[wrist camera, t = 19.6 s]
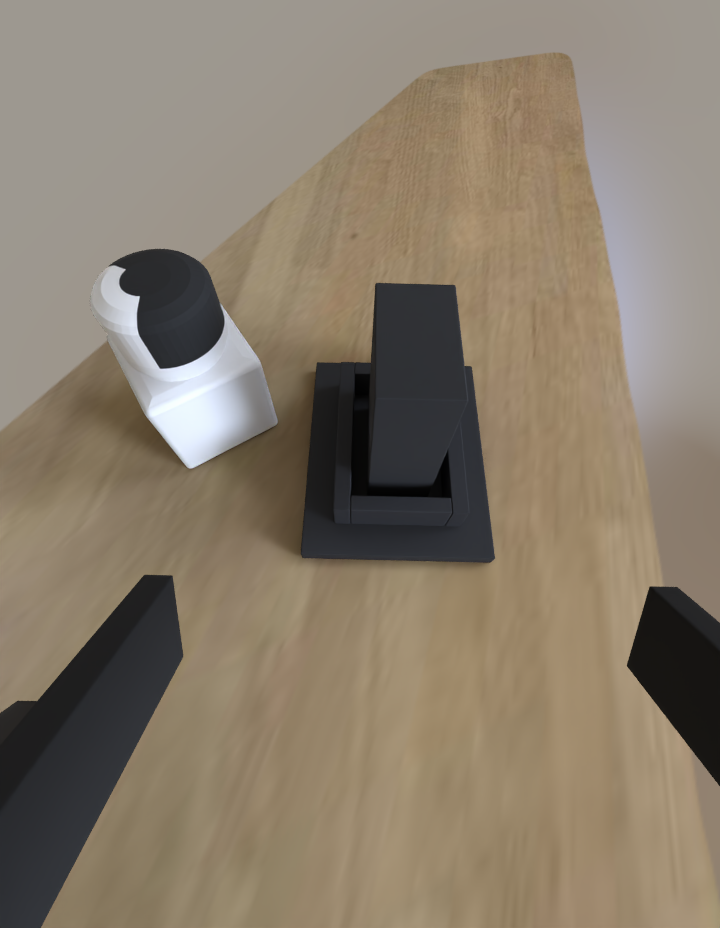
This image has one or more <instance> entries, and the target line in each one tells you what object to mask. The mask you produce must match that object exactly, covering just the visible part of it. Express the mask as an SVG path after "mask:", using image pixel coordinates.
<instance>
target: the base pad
mask: <svg viewBox="0 0 720 928" xmlns="http://www.w3.org/2000/svg"><path fill="white" fill-rule="evenodd" d="M464 367H465V376H466V385H467V394H468V402H467V405H466V407H465V410H464V412H463V414H462V417H461V419H460V421H459V424H458V426H457V429H456V431H455V433H454V436H453V438H452V440H451V443H450V445H449V448H448V450H447V452H446V455H445V457H444V460H443V462H442V464H441V467H440V469H439V471H438V474H437V476H436V479H435V481H434V483H433V486H432V488H431V491H430V493H429V495H428V497H398V496H368V495H367V473H368V407H369V389H370V371H371V363H357V362H356V363H354V362H341V363H319V362H318V363H317V367H316V379H315V391H314V403H313V414H312V426H311V438H310V450H309V462H308V473H307V485H306V497H305V509H304V521H303V533H302V544H301V555H302V558H327V559H368V560H408V561H449V562H491V561H493V560H494V559H495V555H494V547H493V539H492V530H491V522H490V514H489V506H488V497H487V489H486V481H485V473H484V464H483V456H482V448H481V440H480V431H479V423H478V415H477V407H476V399H475V390H474V382H473V374H472V367H471V366H464Z"/></svg>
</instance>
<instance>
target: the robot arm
mask: <svg viewBox="0 0 720 928" xmlns="http://www.w3.org/2000/svg"><path fill="white" fill-rule="evenodd" d="M182 658H183V650H182V643H181V636H180V628H179V621H178V613H177V606H176V598H175V591H174V584H173V576H168V575H144V576H143V577H142V578H141V579H140V581H139V582H138V583H137V584H136V585H135V587H134V588H133V589H132V590H131V591H130V592H129V594H128V595H127V596H126V597H125V598H124V599H123V601H122V602H121V603H120V604H119V605H118V607H117V608H116V609H115V610H114V611H113V612H112V614H111V615H110V616H109V617H108V618H107V620H106V621H105V622H104V623H103V624H102V625H101V627H100V628H99V629H98V630H97V631H96V633H95V634H94V635H93V636H92V637H91V638H90V640H89V641H88V642H87V643H86V644H85V646H84V647H83V648H82V649H81V650H80V651H79V653H78V654H77V655H76V656H75V657H74V659H73V660H72V661H71V662H70V663H69V664H68V666H67V667H66V668H65V669H64V670H63V671H62V673H61V674H60V675H59V676H58V677H57V679H56V680H55V681H54V682H53V683H52V684H51V686H50V687H49V688H48V689H47V690H46V692H45V693H44V694H43V695H42V696H41V697H40V699H39V700H38V701H17V702H15V703H14V704H12V705H11V706H10V707H8V708H7V709H5V710H4V711H3V712H1V713H0V928H41V926H42V924H43V922H44V920H45V918H46V916H47V915H48V913H49V911H50V909H51V907H52V905H53V903H54V901H55V899H56V897H57V896H58V894H59V892H60V890H61V888H62V886H63V884H64V882H65V880H66V878H67V877H68V875H69V873H70V871H71V869H72V867H73V865H74V863H75V861H76V859H77V857H78V856H79V854H80V852H81V850H82V848H83V846H84V844H85V842H86V840H87V838H88V837H89V835H90V833H91V831H92V829H93V827H94V825H95V823H96V821H97V819H98V818H99V816H100V814H101V812H102V810H103V808H104V806H105V804H106V802H107V800H108V799H109V797H110V795H111V793H112V791H113V789H114V787H115V785H116V783H117V781H118V780H119V778H120V776H121V774H122V772H123V770H124V768H125V766H126V764H127V762H128V761H129V759H130V757H131V755H132V753H133V751H134V749H135V747H136V745H137V743H138V742H139V740H140V738H141V736H142V734H143V732H144V730H145V728H146V726H147V724H148V722H149V721H150V719H151V717H152V715H153V713H154V711H155V709H156V707H157V705H158V703H159V702H160V700H161V698H162V696H163V694H164V692H165V690H166V688H167V686H168V684H169V683H170V681H171V679H172V677H173V675H174V673H175V671H176V669H177V667H178V665H179V664H180V662H181V660H182ZM627 667H628V668H629V669H630V671H631V672H632V673H633V674H634V676H635V677H636V678H637V680H638V681H639V682H640V684H641V685H642V686H643V687H644V689H645V690H646V691H647V693H648V694H649V695H650V696H651V698H652V699H653V700H654V702H655V703H656V704H657V706H658V707H659V708H660V709H661V711H662V712H663V713H664V715H665V716H666V717H667V718H668V720H669V721H670V722H671V724H672V725H673V726H674V728H675V729H676V730H677V731H678V733H679V734H680V735H681V737H682V738H683V739H684V740H685V742H686V743H687V744H688V746H689V747H690V748H691V750H692V751H693V752H694V753H695V755H696V756H697V757H698V759H699V760H700V761H701V762H702V764H703V765H704V766H705V768H706V769H707V770H708V771H709V773H710V774H711V775H712V777H713V778H714V779H715V781H716V782H717V783H718V785H719V786H720V623H719V622H718V621H717V620H716V619H715V618H713V617H712V616H711V615H710V614H708V613H707V612H706V611H705V610H704V609H703V608H701V607H700V606H699V605H698V604H697V603H695V602H694V601H693V600H692V599H691V598H690V597H688V596H687V595H686V594H685V593H684V592H682V591H681V590H680V589H679V588H678V587H649V591H648V594H647V598H646V601H645V605H644V608H643V611H642V615H641V618H640V622H639V625H638V629H637V632H636V636H635V639H634V643H633V646H632V650H631V653H630V656H629V660H628V663H627Z"/></svg>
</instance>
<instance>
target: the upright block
mask: <svg viewBox="0 0 720 928" xmlns="http://www.w3.org/2000/svg"><path fill="white" fill-rule="evenodd" d="M467 402H468V394H467V385H466V376H465V367H464V358H463V349H462V340H461V331H460V322H459V313H458V304H457V296H456V287H455V285H430V284H392V283H376V285H375V301H374V318H373V336H372V354H371V371H370V389H369V407H368V473H367V495H368V496H398V497H428V495H429V493H430V491H431V488H432V486H433V483H434V481H435V479H436V476H437V474H438V471H439V469H440V467H441V464H442V462H443V460H444V457H445V455H446V452H447V450H448V448H449V445H450V443H451V440H452V438H453V436H454V433H455V431H456V429H457V426H458V424H459V421H460V419H461V417H462V414H463V412H464V410H465V407H466V405H467Z"/></svg>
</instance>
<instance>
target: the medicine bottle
mask: <svg viewBox="0 0 720 928" xmlns="http://www.w3.org/2000/svg"><path fill="white" fill-rule="evenodd" d="M90 306H91V311H92V313H93V315H94V317H95V318H96V319H97V321H98V322H99V323H100V325H101V326H102V328H103V329H104V330H105V332H106V333H107V340H108V342H109V344H110V346H111V348H112V350H113V352H114V354H115V356H116V358H117V360H118V362H119V364H120V366H121V368H122V370H123V372H124V374H125V376H126V378H127V380H128V382H129V384H130V386H131V388H132V390H133V392H134V394H135V396H136V398H137V400H138V402H139V404H140V406H141V408H142V410H143V412H144V414H145V416H146V417H147V418H148V419H149V421H150V422H151V423H152V424H153V426H154V427H155V428H156V429H157V431H158V432H159V433H160V434H161V436H162V437H163V438H164V439H165V441H166V442H167V443H168V444H169V446H170V447H171V448H172V449H173V451H174V452H175V453H176V454H177V456H178V457H179V458H180V459H181V461H182V462H183V463H184V464H185V466H186V467H188V468H194V467H196V466H198V465H200V464H202V463H204V462H206V461H208V460H210V459H212V458H214V457H216V456H217V455H219V454H221V453H223V452H225V451H227V450H229V449H231V448H233V447H235V446H237V445H239V444H241V443H243V442H245V441H247V440H249V439H251V438H252V437H254V436H256V435H258V434H260V433H262V432H264V431H266V430H268V429H270V428H272V427H274V426H276V425H277V423H278V420H277V416H276V413H275V409H274V406H273V403H272V399H271V396H270V393H269V389H268V386H267V382H266V379H265V376H264V372H263V369H262V365H261V362H260V360H259V359H258V357H257V356H256V354H255V353H254V351H253V350H252V348H251V347H250V346H249V344H248V343H247V341H246V340H245V338H244V337H243V335H242V334H241V332H240V331H239V330H238V328H237V327H236V325H235V324H234V322H233V321H232V319H231V318H230V316H229V315H228V314H227V312H226V311H225V309H224V308H223V306H222V305H221V303H220V302H219V299H218V297H217V294H216V291H215V288H214V285H213V283H212V280H211V277H210V275H209V273H208V271H207V269H206V268H205V267H204V266H203V265H202V264H201V263H200V262H199V261H197V260H196V259H194V258H192V257H190V256H189V255H186V254H184V253H182V252H179V251H174V250H168V249H151V250H144V251H139V252H135V253H132V254H130V255H127V256H125V257H122V258H120V259H118V260H117V261H115V262H113V263H112V264H111V265H109V266H108V267H107V268H106V269H105V270H104V271H103V272H102V273H101V274H100V275H99V277H98V278H97V279H96V281H95V283H94V286H93V288H92V292H91V296H90Z"/></svg>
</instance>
